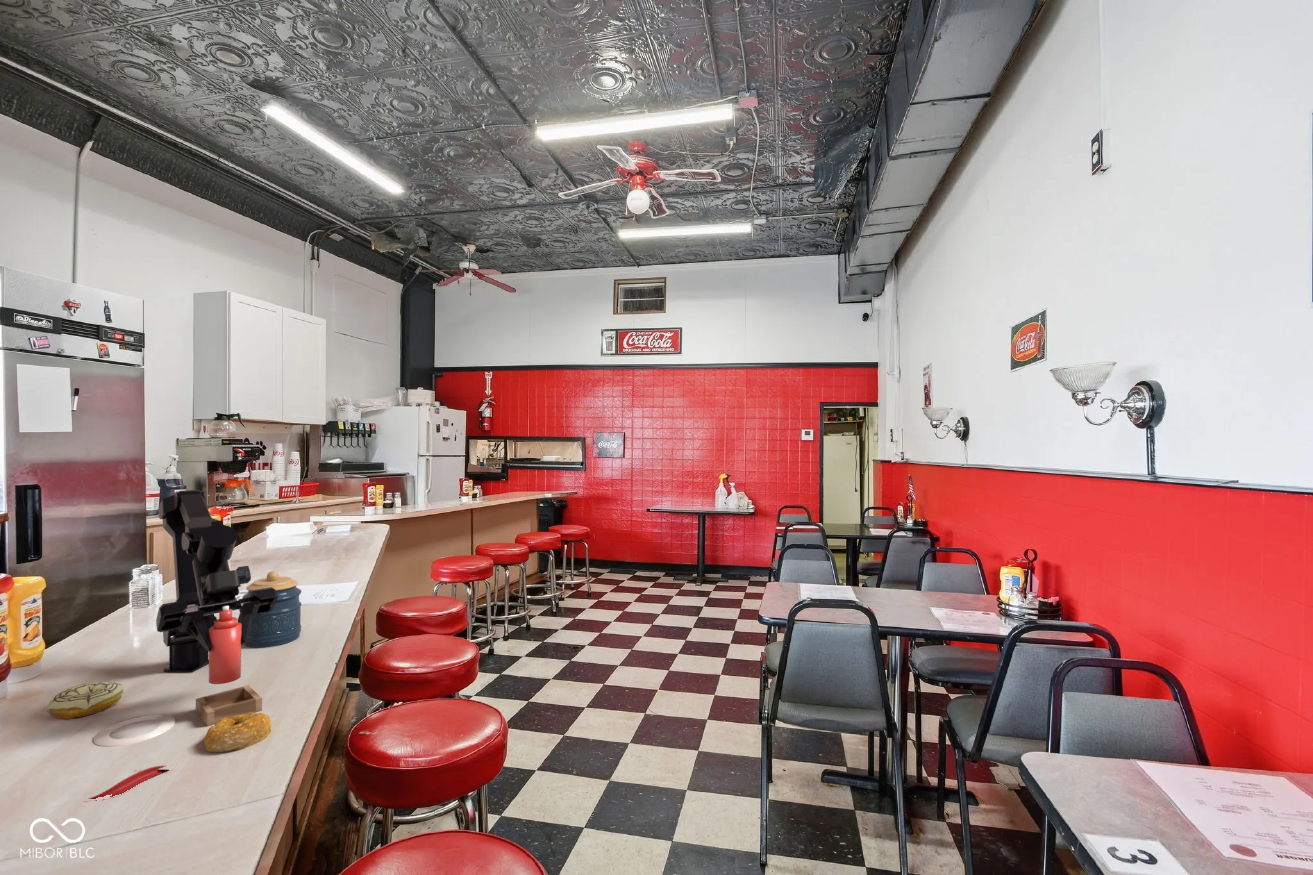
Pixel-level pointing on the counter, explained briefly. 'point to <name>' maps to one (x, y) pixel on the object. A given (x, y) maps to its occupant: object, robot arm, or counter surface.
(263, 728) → the bagel
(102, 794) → the cayenne pepper
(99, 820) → the counter surface
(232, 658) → the ketchup bottle
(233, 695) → the tray
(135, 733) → the saucer
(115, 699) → the decorated donut
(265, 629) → the canister
